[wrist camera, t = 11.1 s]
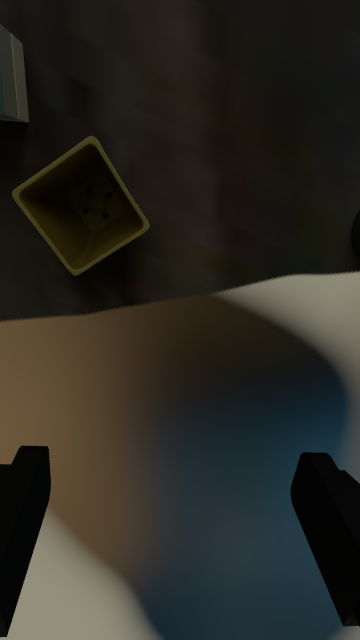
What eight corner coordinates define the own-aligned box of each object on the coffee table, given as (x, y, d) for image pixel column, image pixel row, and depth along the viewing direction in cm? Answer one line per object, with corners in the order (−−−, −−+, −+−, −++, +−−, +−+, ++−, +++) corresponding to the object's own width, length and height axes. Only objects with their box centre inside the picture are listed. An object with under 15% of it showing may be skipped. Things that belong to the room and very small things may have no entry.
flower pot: (38, 187, 37) (7, 192, 29) (105, 141, 36) (92, 133, 28) (88, 255, 40) (73, 278, 32) (151, 215, 39) (152, 228, 31)
